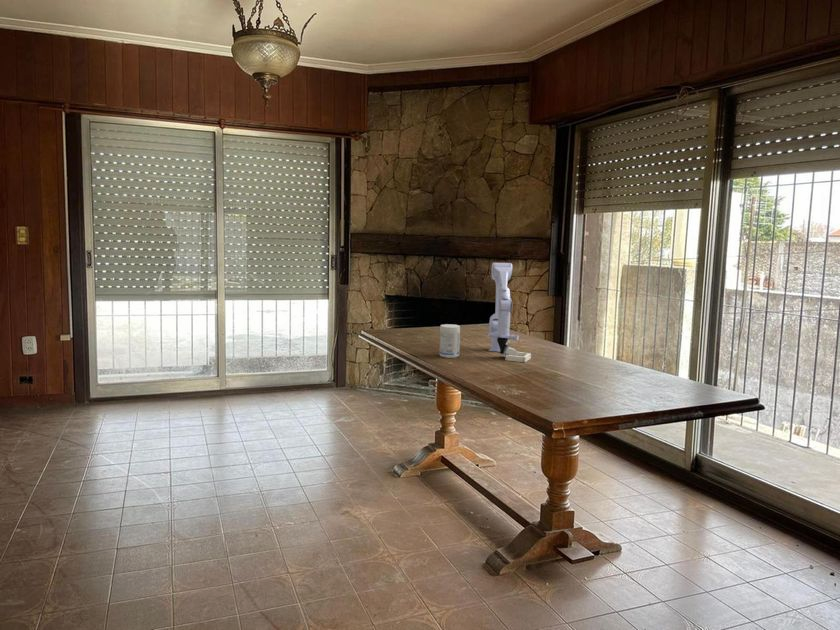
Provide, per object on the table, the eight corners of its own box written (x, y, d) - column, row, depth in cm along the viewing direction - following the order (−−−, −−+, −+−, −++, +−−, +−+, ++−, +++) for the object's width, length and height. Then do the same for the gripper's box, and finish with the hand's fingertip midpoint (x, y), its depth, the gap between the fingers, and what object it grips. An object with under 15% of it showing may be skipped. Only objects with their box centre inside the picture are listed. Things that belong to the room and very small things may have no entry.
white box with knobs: (500, 354, 304) (504, 343, 304) (510, 356, 305) (513, 345, 305) (504, 357, 297) (508, 345, 297) (514, 359, 298) (518, 348, 298)
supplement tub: (450, 353, 308) (451, 323, 306) (463, 356, 300) (464, 326, 299) (434, 355, 302) (435, 324, 300) (448, 359, 294) (449, 327, 292)
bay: (511, 356, 306) (512, 351, 306) (530, 358, 302) (531, 353, 302) (505, 360, 296) (505, 355, 295) (524, 362, 292) (525, 357, 292)
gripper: (486, 324, 299) (484, 353, 300) (516, 327, 293) (514, 356, 294) (490, 323, 305) (489, 351, 307) (520, 326, 299) (518, 354, 301)
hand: (502, 353), depth 301 cm, fingers closed, pressing on white box with knobs
